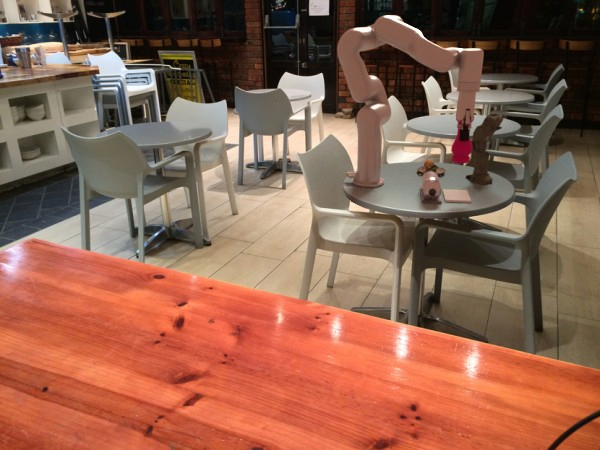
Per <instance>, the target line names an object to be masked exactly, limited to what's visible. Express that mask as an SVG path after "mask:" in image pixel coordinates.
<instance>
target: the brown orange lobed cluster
mask: <svg viewBox="0 0 600 450" xmlns="http://www.w3.org/2000/svg"><path fill="white" fill-rule="evenodd" d="M424 161H425V160H424ZM428 171H432V172H435V173H436V174H437V175H438V178H439V177H440V178H441V176H442V174H444V173H446V169H445V168H443V167H439V166H438V165H437V164H435V162H434V161H433V160H432V159H426V161H425V162H424V163H423V166H420V167H418V168H417V174H418V173H419V174H421V175H420V176H422V175H423V174H424V173H426V172H428ZM419 174H418V175H419Z"/></svg>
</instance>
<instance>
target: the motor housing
mask: <svg viewBox="0 0 600 450" xmlns="http://www.w3.org/2000/svg"><path fill="white" fill-rule="evenodd" d="M421 185H422V186H421ZM421 185H420V186H419V191H420V201H421V203H422V204H423V203H424V204H440V205H441V204H443V203H442V201H443V200H442V197H441V195H442V194H443V189H442V186H441V183H440V179H439V177H438V175H437V174H436V173H435V172H432V171H428V172H426V173H424V174H423V176H422V175H421Z"/></svg>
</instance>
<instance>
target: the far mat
mask: <svg viewBox="0 0 600 450" xmlns="http://www.w3.org/2000/svg"><path fill="white" fill-rule="evenodd" d="M442 194H443V198H444V202H445V203H460V204H461V203H466V204H472V199H471V197H470V194H469V192H468V189H451V188H450V189H449V188H448V189H447V188H446V189H445V188H443V189H442Z"/></svg>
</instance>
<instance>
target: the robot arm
mask: <svg viewBox="0 0 600 450" xmlns="http://www.w3.org/2000/svg"><path fill="white" fill-rule="evenodd" d="M337 43H338V44H337V48H336V49H337V50H336V51H337V58H338V61H339V64H340V66H341V69H342V71H343V74H344V78H345V81H346V83H347V86H348V90H349V92H350V95H351V97H352V99H353V101H354V102H356V103H359V104H361V103H362V104H363V103H364V104H365V105H364V106H363V107H362V108H360V110H359V111H358V112H357V115H356V120H355V121H356V122H355V123H356V129H357V159H356V160H357V166H356V167H357V168H356V171H353V172H351V171H346V174H345V175H346V177H347V178H349V179H353V180H352V182H353V184H354V185H355V186H358V187H362V188H376V187H380V186H383V185H384V183H385V180H384V178H383V177H381V173H382V154H383V153H382V151H383V150H382V146H383V136H382V129H381V127H382V126H383V125H385V124H387V123H388V122H389V121H390V119H391V117H392V109H391V105H390V103H389V99H388V97H387V92H386V90H385V87H384V85H383V83H382V81H381V80H380V78H379V77H377V76H376V75H372V74H370V75H369V73H368V70H367V67H366V64H365V62H364V60H363V59H362V56H361V55H360V52H365V51H370V50H373V49H376V48H377V47H381V46H383V45H390V46H392V47H393V48H396V49H398V50H400V51H402V52H404V53H405V54H407V55H409V56H410V57H411V58H412V59H414V60H415V61H416V62H417V63H420V64H421V65H423V66H425V67H428V68H429V69H431V70H433V71H436V72H438V73H446V72H449V71H455V70H458V73H457V82H456V83H457V84H456V85H457V86H456V92H458V95H457V97H458V98H457V105H456V109H455V110H456V112H455V117H456V116H457V120H458V121H460V120H462V123H461V129H460V136H459V141H469V133H470V132H471V129H470V120H471V121H472V120H473V115H474V114H475V107H476V96H477V93H479V92H480V89H481V82H482V81H481V80H482V72H483V65H484V55H485V54H484V50H483V49H482V48H476V47H474V48H459V47H453V46H452V47H446V48H444V47H442V46H440V45H438V44H436V43H433V42H432V41H430V40H428V39H427V38H426V37H424V35H423V32H422V31H421V30H419V29H418V28H415V27H413V26H411V25H409V24H408V23H405V22H404V19H402V18H401V16H399V15H396V14H395V15H394V14H393V15H392V14H391V15H389V14H388V15H382V16H380V17H378V18H377V19H376V20H375V22H374V23H373V24H371V25H368V26H362V27H353V28H350V29H348V30H346V31H345V32H344V33H343V34H342V35H341V37H340V39H339V40H338V42H337ZM474 116H475V115H474ZM470 117H472V118H471V119H470ZM463 119H465V121H463ZM457 120H456V121H457ZM473 121H474V120H473ZM463 123H464V124H463Z"/></svg>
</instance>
